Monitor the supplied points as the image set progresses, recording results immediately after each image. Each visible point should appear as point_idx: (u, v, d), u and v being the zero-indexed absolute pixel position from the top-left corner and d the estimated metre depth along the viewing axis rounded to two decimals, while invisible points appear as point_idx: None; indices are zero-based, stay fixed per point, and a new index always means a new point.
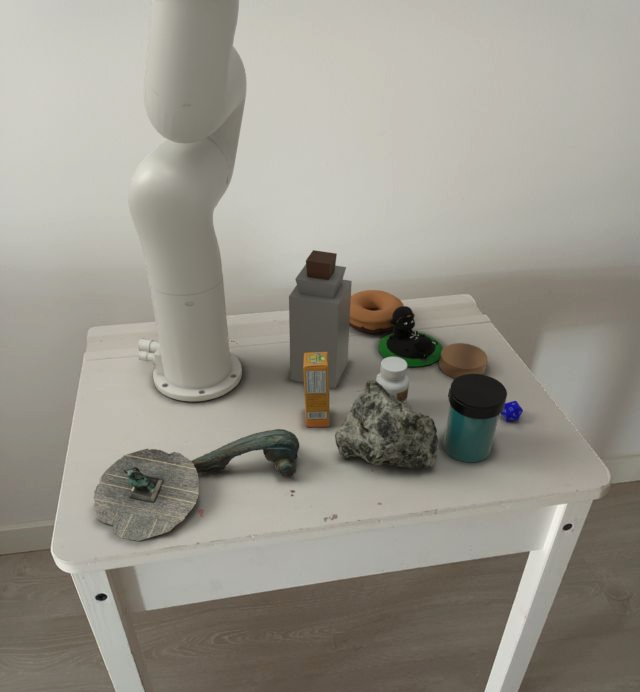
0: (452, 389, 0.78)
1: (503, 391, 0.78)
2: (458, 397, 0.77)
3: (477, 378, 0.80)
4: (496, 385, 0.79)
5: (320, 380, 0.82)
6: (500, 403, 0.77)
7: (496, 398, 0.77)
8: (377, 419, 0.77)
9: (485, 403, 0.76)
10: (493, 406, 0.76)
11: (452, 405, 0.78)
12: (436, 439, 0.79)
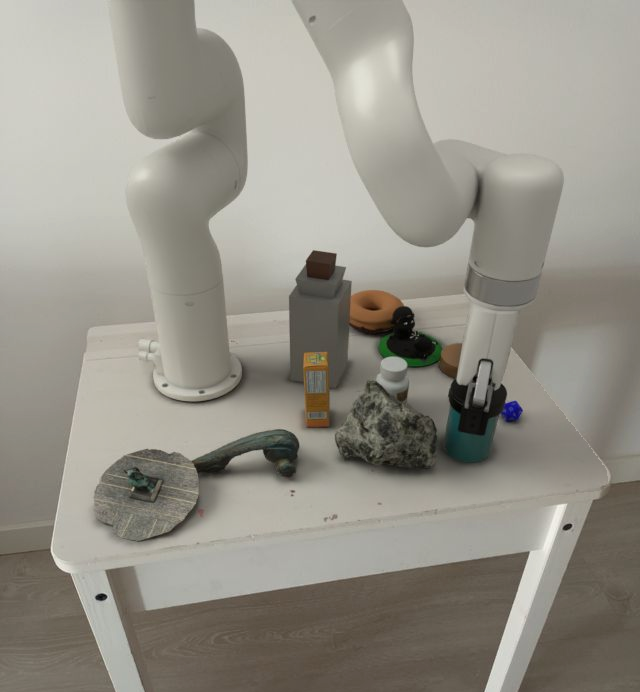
0: (452, 389, 0.78)
1: (503, 391, 0.78)
2: (458, 397, 0.77)
3: None
4: None
5: (320, 380, 0.82)
6: (500, 403, 0.77)
7: (496, 398, 0.77)
8: (377, 419, 0.77)
9: None
10: (493, 406, 0.76)
11: (452, 405, 0.78)
12: (436, 439, 0.79)
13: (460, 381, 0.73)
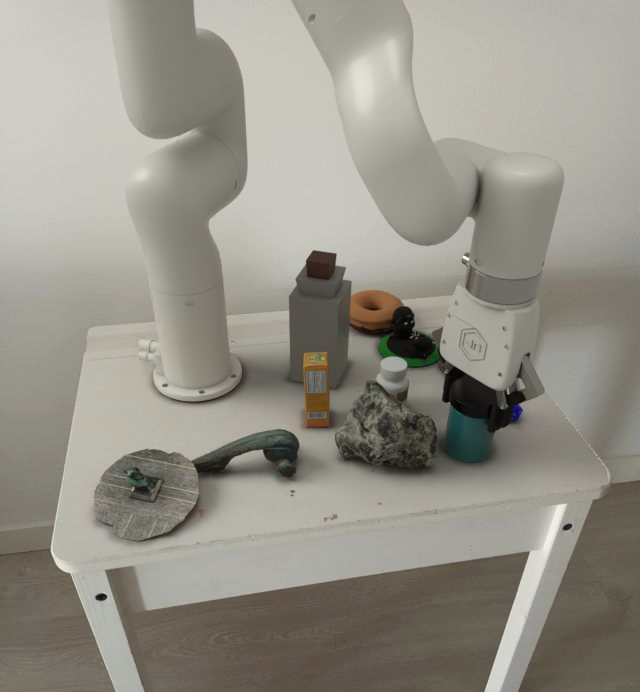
0: (467, 401, 0.76)
1: None
2: (481, 404, 0.76)
3: (462, 380, 0.80)
4: None
5: (320, 380, 0.82)
6: None
7: None
8: (377, 419, 0.77)
9: None
10: None
11: (474, 415, 0.77)
12: (436, 439, 0.79)
13: (506, 386, 0.72)
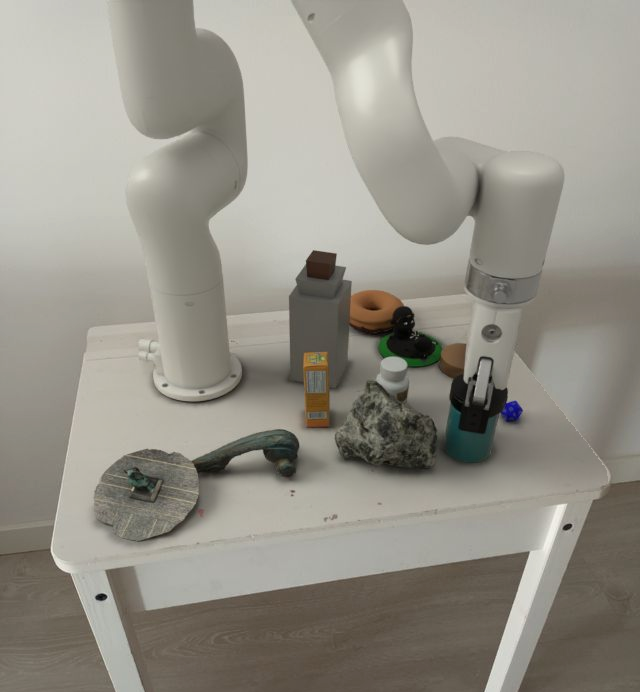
0: (505, 388, 0.78)
1: (454, 386, 0.78)
2: None
3: None
4: (461, 392, 0.78)
5: (320, 380, 0.82)
6: (458, 376, 0.80)
7: (462, 379, 0.80)
8: (377, 419, 0.77)
9: None
10: None
11: None
12: (436, 439, 0.79)
13: None
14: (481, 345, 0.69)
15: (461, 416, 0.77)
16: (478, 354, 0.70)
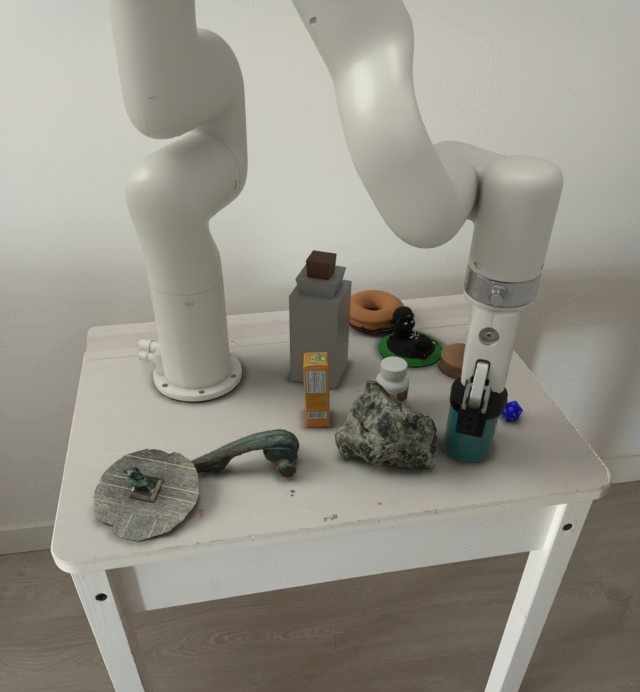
0: (505, 390, 0.78)
1: (454, 388, 0.79)
2: None
3: None
4: (461, 394, 0.78)
5: (320, 380, 0.82)
6: (458, 378, 0.80)
7: None
8: (377, 419, 0.77)
9: (473, 377, 0.81)
10: None
11: None
12: (436, 439, 0.79)
13: None
14: (478, 348, 0.69)
15: (458, 419, 0.76)
16: (475, 357, 0.70)
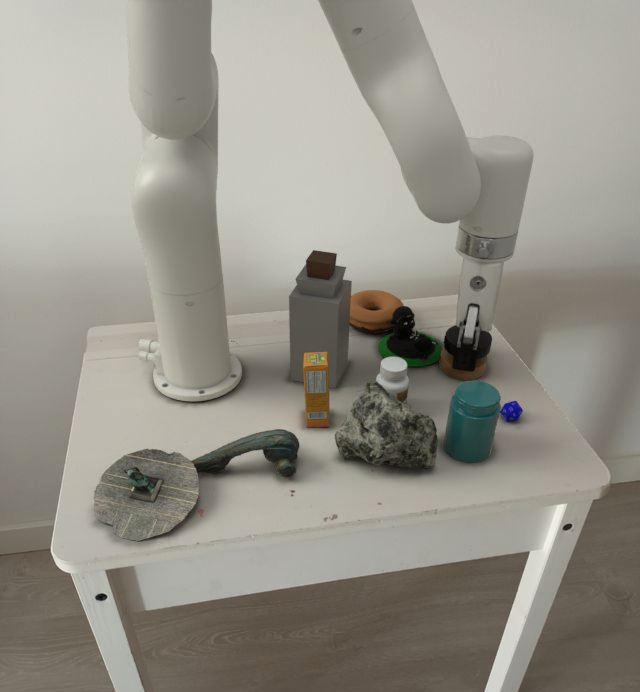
0: (447, 336, 0.95)
1: (489, 337, 0.95)
2: (451, 342, 0.94)
3: None
4: (483, 333, 0.95)
5: (320, 380, 0.82)
6: (486, 346, 0.93)
7: (483, 342, 0.93)
8: (377, 419, 0.77)
9: None
10: (480, 348, 0.92)
11: (447, 349, 0.95)
12: (436, 439, 0.79)
13: None
14: (469, 294, 0.85)
15: (454, 356, 0.93)
16: (467, 301, 0.86)
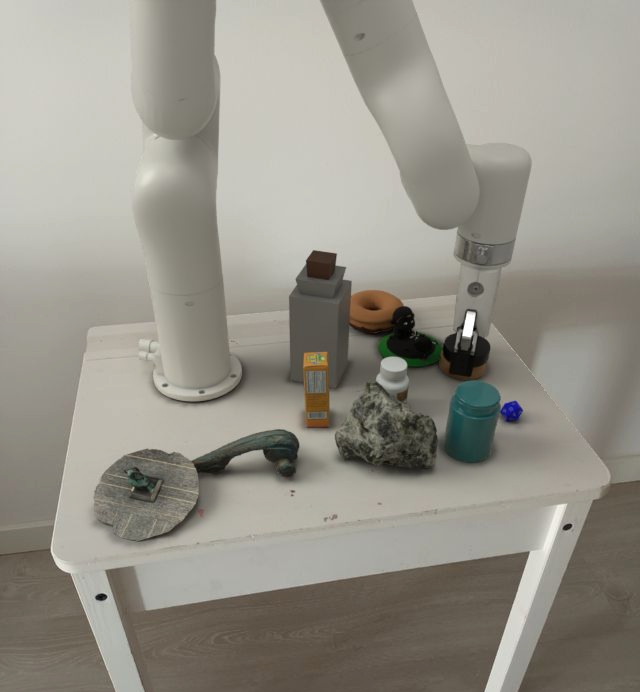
0: (445, 344, 0.96)
1: (487, 345, 0.95)
2: (450, 350, 0.94)
3: None
4: (482, 341, 0.96)
5: (320, 380, 0.82)
6: (484, 354, 0.94)
7: (481, 350, 0.94)
8: (377, 419, 0.77)
9: None
10: (478, 356, 0.93)
11: (445, 357, 0.96)
12: (436, 439, 0.79)
13: None
14: (467, 299, 0.86)
15: (451, 361, 0.92)
16: (465, 307, 0.87)
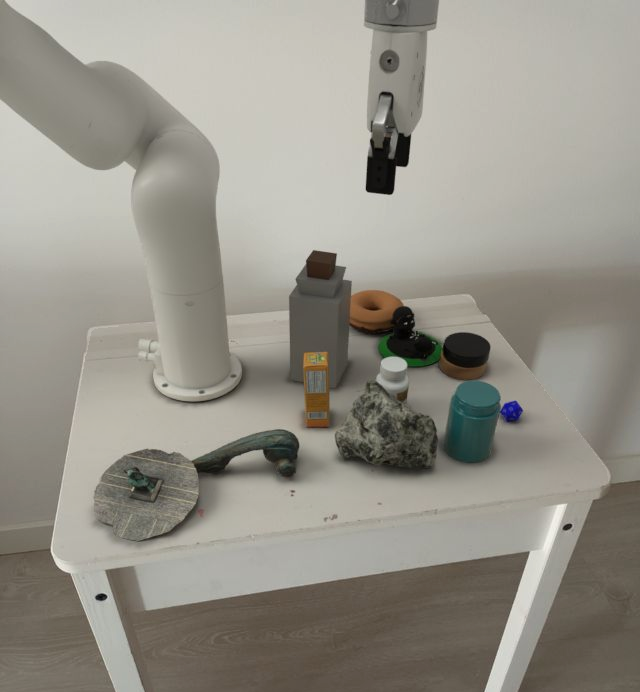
0: (445, 344, 0.96)
1: (487, 345, 0.95)
2: (450, 350, 0.94)
3: (466, 335, 0.97)
4: (482, 341, 0.96)
5: (320, 380, 0.82)
6: (484, 354, 0.94)
7: (481, 350, 0.94)
8: (377, 419, 0.77)
9: (472, 354, 0.94)
10: (478, 356, 0.93)
11: (445, 357, 0.96)
12: (436, 439, 0.79)
13: None
14: (380, 78, 0.67)
15: (367, 174, 0.74)
16: (378, 89, 0.68)
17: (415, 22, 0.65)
